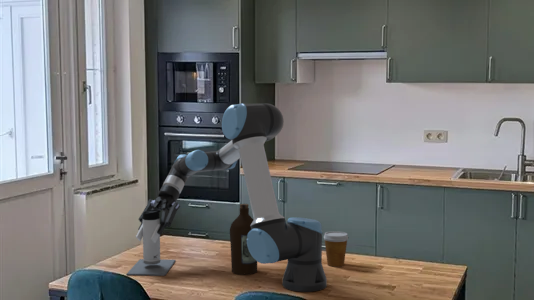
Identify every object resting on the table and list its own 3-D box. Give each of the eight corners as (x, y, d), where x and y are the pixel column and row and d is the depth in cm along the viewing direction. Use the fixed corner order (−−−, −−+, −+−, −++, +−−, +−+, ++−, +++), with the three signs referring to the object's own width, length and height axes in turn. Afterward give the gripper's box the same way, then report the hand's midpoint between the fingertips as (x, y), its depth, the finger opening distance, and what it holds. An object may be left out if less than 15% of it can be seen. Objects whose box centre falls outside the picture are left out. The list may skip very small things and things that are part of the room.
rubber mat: (165, 275, 238) (165, 274, 238) (126, 275, 239) (126, 273, 239) (175, 261, 258) (175, 259, 258) (140, 260, 259) (139, 259, 259)
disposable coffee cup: (347, 261, 257) (348, 231, 256) (348, 268, 248) (348, 236, 246) (323, 261, 258) (323, 230, 257) (322, 267, 249) (323, 236, 247)
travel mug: (159, 264, 245) (158, 211, 243) (141, 264, 245) (140, 211, 243) (162, 260, 251) (161, 208, 249) (145, 260, 251) (144, 208, 249)
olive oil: (224, 270, 245) (224, 203, 243) (249, 266, 251) (248, 200, 249) (239, 277, 236) (239, 208, 234) (264, 272, 242) (264, 205, 240)
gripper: (195, 197, 255) (171, 248, 242) (155, 193, 264) (129, 242, 251) (187, 185, 250) (162, 236, 237) (147, 182, 259) (120, 231, 246)
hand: (145, 239), depth 244 cm, fingers closed on travel mug, 6 cm apart
